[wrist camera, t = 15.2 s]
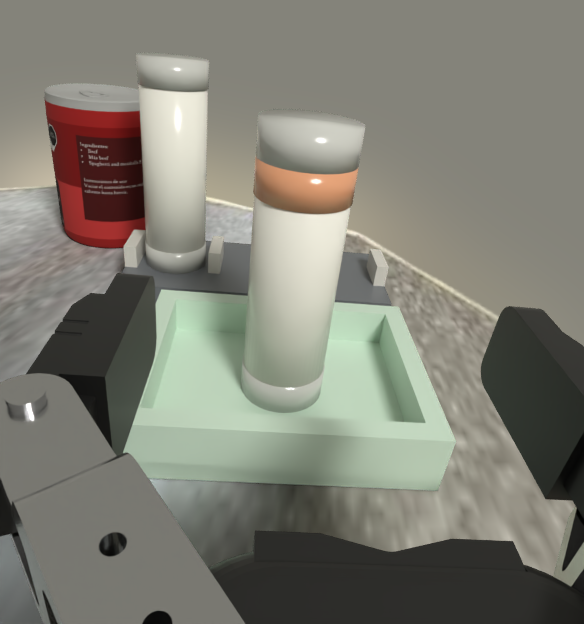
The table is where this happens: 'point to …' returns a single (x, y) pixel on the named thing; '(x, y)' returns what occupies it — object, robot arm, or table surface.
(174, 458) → the tray
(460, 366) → the table surface
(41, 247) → the table surface
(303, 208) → the cylinder
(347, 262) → the clip block
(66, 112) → the canned food
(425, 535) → the table surface
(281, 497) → the table surface
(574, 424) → the robot arm
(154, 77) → the plain fuse
